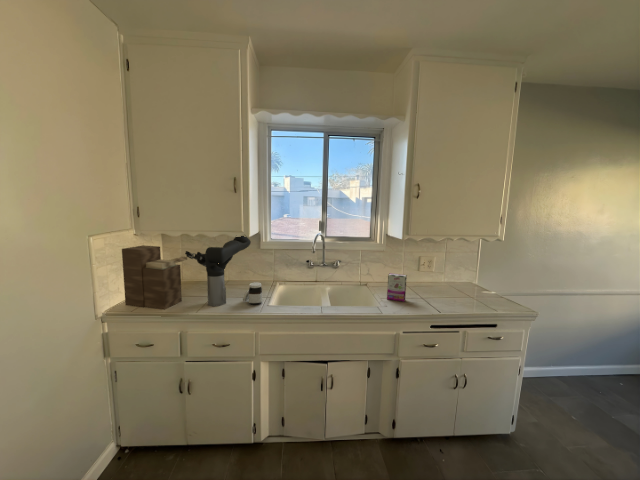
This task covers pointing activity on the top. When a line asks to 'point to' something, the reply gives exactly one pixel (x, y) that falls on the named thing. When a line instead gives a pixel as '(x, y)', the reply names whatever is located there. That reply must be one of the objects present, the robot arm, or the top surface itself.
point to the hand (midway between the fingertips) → (191, 252)
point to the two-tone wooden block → (149, 279)
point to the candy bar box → (396, 287)
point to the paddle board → (164, 263)
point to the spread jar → (254, 294)
